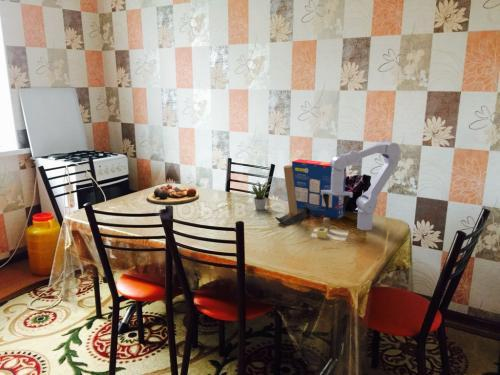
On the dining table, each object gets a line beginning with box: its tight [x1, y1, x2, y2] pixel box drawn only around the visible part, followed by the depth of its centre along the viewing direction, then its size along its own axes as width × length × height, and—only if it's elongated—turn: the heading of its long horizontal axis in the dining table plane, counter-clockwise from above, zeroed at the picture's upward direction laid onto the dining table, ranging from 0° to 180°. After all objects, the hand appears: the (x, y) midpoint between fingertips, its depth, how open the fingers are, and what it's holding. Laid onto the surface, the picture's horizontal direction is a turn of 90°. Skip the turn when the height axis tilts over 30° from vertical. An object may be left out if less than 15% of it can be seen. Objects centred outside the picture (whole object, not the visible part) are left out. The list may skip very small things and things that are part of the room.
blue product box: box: [291, 159, 347, 220], centre depth 232 cm, size 28×8×28 cm, turn 53°
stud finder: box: [317, 227, 328, 239], centre depth 198 cm, size 5×4×3 cm
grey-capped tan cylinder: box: [322, 217, 331, 231], centre depth 205 cm, size 3×3×6 cm
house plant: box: [250, 180, 273, 211], centre depth 243 cm, size 14×14×16 cm
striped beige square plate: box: [309, 227, 350, 242], centre depth 201 cm, size 14×16×1 cm
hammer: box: [274, 164, 311, 226], centre depth 218 cm, size 20×5×30 cm, turn 129°
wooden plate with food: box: [147, 183, 200, 205], centre depth 268 cm, size 32×32×8 cm
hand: (335, 210), depth 205 cm, fingers open, 7 cm apart
